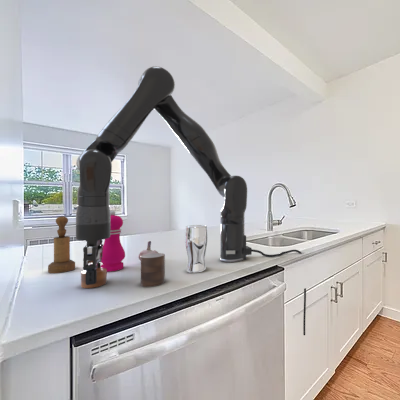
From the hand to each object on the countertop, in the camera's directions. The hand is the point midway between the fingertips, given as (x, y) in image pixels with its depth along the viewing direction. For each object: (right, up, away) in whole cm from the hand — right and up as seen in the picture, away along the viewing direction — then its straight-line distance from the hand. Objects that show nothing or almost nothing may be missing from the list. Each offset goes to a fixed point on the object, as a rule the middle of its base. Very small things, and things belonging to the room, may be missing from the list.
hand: (93, 279), depth 71 cm
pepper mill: (-6, -1, +15) cm, 16 cm away
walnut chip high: (+16, +2, +2) cm, 16 cm away
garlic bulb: (+1, -1, +24) cm, 25 cm away
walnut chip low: (+16, -2, +2) cm, 16 cm away
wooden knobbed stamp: (-22, -1, +13) cm, 26 cm away
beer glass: (+23, -2, +15) cm, 27 cm away
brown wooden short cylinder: (0, -1, 0) cm, 1 cm away
